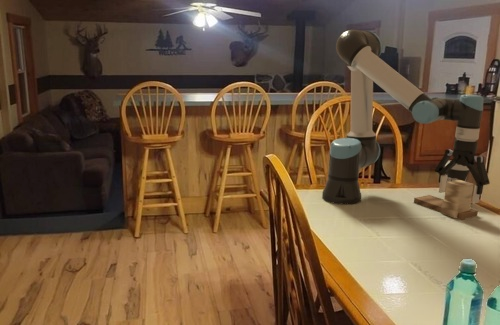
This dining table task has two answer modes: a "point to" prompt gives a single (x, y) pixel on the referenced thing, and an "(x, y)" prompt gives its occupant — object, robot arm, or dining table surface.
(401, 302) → the dining table surface
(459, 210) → the tan block with peg
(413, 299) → the dining table surface
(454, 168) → the coffee cup
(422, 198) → the plank
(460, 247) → the dining table surface
